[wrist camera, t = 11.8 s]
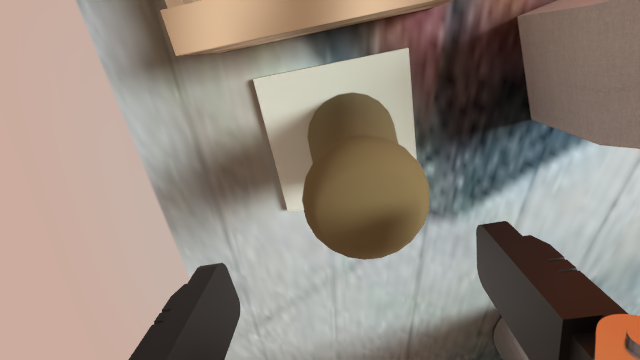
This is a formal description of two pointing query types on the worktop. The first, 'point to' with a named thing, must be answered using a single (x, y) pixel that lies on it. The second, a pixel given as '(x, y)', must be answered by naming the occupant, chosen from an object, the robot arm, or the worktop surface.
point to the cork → (362, 180)
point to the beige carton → (585, 68)
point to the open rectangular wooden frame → (268, 20)
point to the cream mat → (319, 86)
